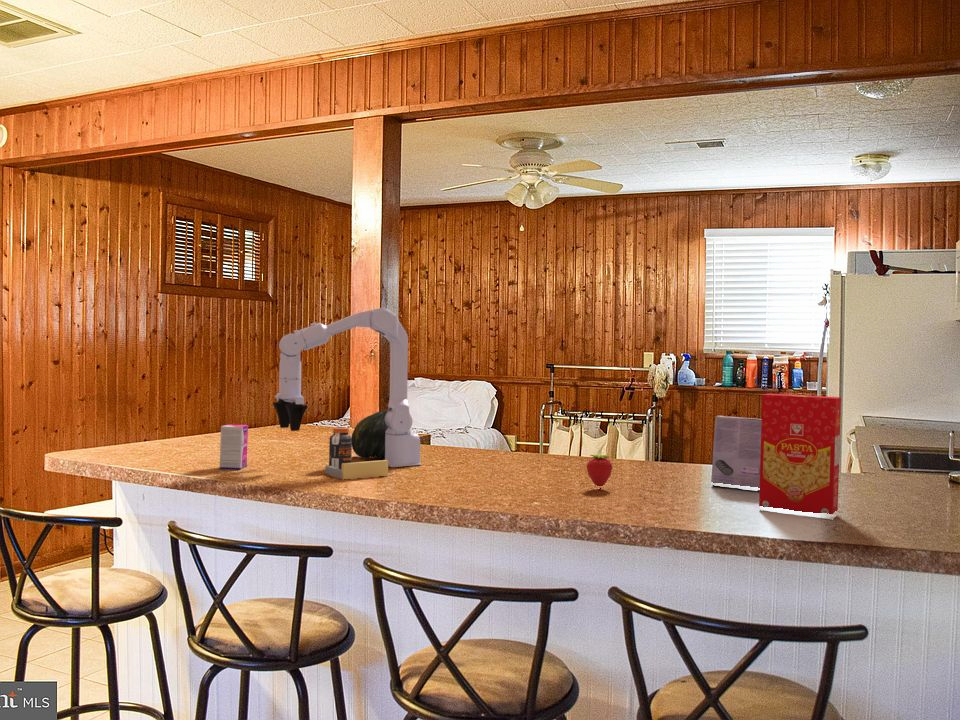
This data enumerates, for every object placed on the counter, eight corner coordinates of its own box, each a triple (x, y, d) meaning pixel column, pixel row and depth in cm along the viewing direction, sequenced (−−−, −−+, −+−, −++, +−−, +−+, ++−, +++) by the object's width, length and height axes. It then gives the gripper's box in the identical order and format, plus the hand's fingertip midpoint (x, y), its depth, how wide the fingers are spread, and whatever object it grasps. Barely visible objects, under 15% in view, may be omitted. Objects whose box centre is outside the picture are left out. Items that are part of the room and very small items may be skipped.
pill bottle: (339, 471, 213) (340, 429, 213) (324, 469, 217) (324, 427, 216) (356, 469, 218) (356, 427, 218) (340, 466, 222) (341, 425, 221)
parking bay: (368, 469, 217) (368, 454, 217) (387, 476, 208) (388, 460, 208) (325, 473, 210) (325, 458, 210) (343, 480, 201) (343, 464, 201)
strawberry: (581, 490, 193) (582, 448, 193) (593, 485, 200) (594, 445, 199) (605, 493, 190) (606, 450, 190) (616, 488, 197) (617, 447, 196)
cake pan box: (795, 493, 195) (797, 419, 195) (792, 496, 191) (794, 421, 190) (715, 484, 205) (717, 414, 204) (710, 487, 200) (712, 416, 200)
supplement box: (241, 470, 213) (241, 426, 213) (218, 469, 213) (219, 426, 213) (248, 466, 219) (248, 424, 219) (226, 466, 219) (226, 423, 219)
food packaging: (758, 510, 174) (762, 394, 173) (765, 506, 178) (768, 393, 177) (832, 520, 165) (836, 398, 165) (837, 516, 170) (841, 397, 169)
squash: (344, 436, 244) (355, 402, 235) (391, 436, 250) (404, 403, 241) (352, 473, 234) (364, 439, 225) (401, 472, 241) (415, 439, 232)
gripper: (266, 377, 221) (265, 427, 221) (286, 380, 209) (285, 432, 210) (290, 377, 225) (290, 425, 225) (311, 380, 213) (311, 431, 214)
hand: (289, 429), depth 218 cm, fingers open, 7 cm apart
